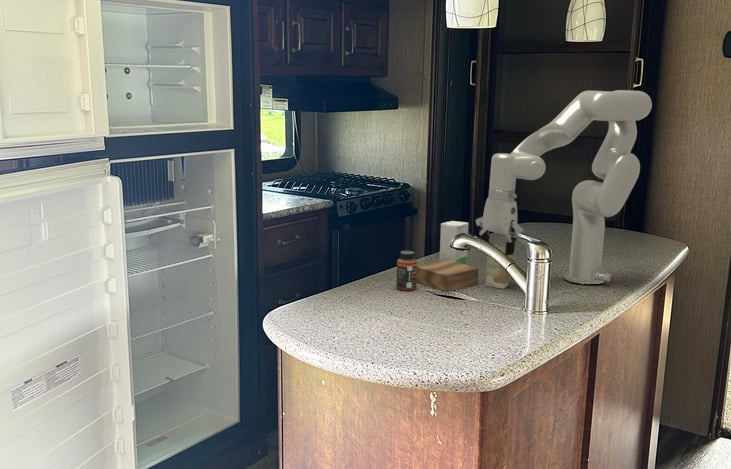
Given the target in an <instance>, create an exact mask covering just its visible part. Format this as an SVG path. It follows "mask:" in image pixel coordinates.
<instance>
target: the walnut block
mask: <svg viewBox="0 0 731 469" xmlns="http://www.w3.org/2000/svg"><path fill="white" fill-rule="evenodd" d="M416 284H420V285H423V286H426V287H429V288H432V289H436V290H438V291H441V292H445V293H448V292H453V291H456V290H460V289H465V288H467V287H471V286H476V285H479V267H475V266H472V265H468V264H467V265H465V264H461V263H458V262H454V261H450V260H447V259H444V260H440V259H439V260H435V261H430V262H427V263H423V264H417V275H416Z"/></svg>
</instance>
